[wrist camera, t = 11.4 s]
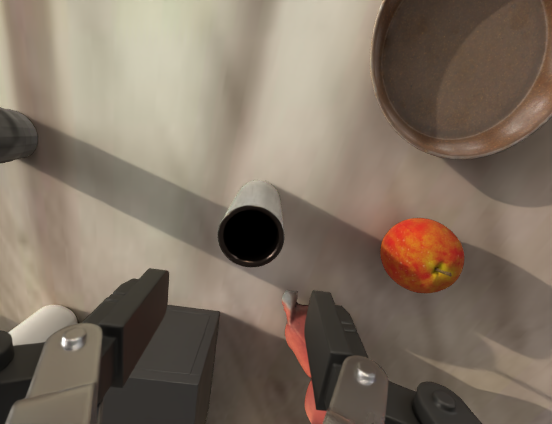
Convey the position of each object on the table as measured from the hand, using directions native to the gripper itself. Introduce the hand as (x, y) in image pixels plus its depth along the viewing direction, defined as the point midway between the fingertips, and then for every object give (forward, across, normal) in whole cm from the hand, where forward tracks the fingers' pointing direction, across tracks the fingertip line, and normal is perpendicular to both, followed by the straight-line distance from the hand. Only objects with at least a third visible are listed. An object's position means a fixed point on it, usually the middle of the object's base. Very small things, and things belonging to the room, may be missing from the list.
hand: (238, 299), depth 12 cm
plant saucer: (+18, -16, -16) cm, 29 cm away
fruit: (+18, -16, +2) cm, 24 cm away
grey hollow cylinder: (+18, 0, 0) cm, 18 cm away
